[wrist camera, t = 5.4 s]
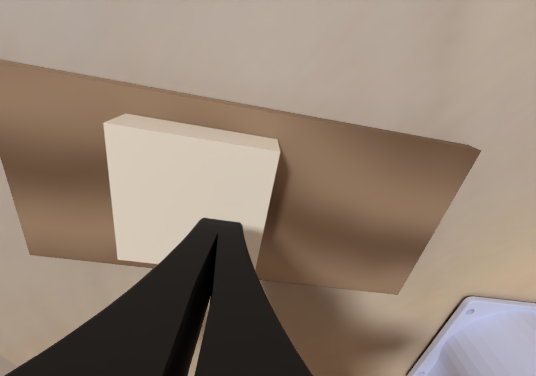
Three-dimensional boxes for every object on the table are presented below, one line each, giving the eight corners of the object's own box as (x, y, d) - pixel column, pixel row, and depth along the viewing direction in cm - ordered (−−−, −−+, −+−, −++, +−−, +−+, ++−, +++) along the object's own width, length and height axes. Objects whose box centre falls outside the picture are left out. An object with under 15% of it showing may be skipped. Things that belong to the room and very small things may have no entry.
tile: (254, 274, 12) (117, 259, 11) (254, 250, 13) (134, 236, 13) (280, 152, 9) (103, 122, 8) (277, 138, 11) (126, 113, 10)
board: (391, 284, 16) (398, 294, 15) (41, 244, 14) (30, 254, 13) (467, 145, 12) (481, 150, 11) (-8, 58, 10) (-30, 58, 9)
